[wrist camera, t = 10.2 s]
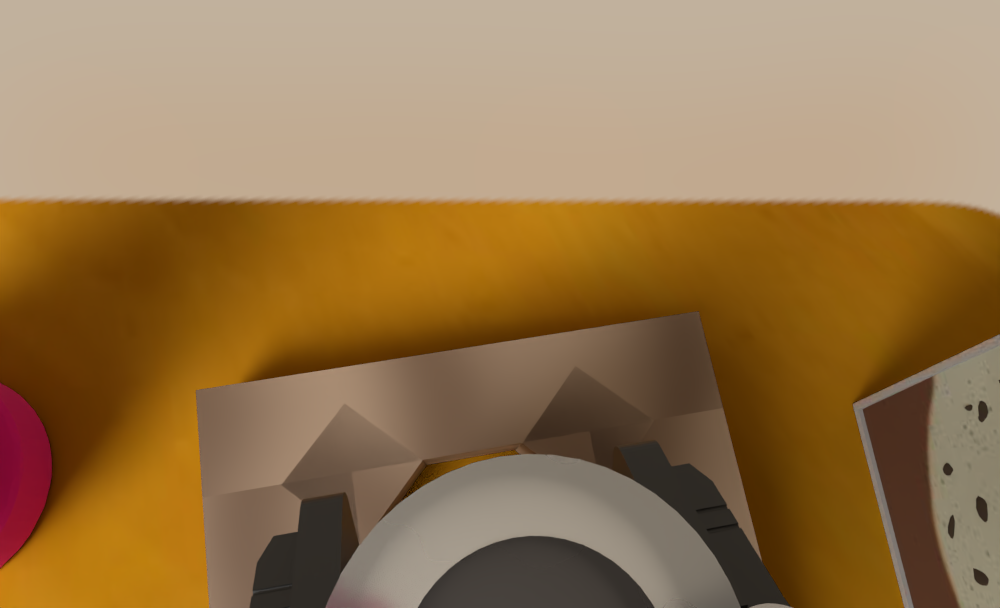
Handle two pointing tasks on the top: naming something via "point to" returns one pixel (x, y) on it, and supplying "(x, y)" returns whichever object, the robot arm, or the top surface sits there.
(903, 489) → the food container
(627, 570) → the bushing
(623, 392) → the frame
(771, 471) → the top surface
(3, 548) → the pepper mill
